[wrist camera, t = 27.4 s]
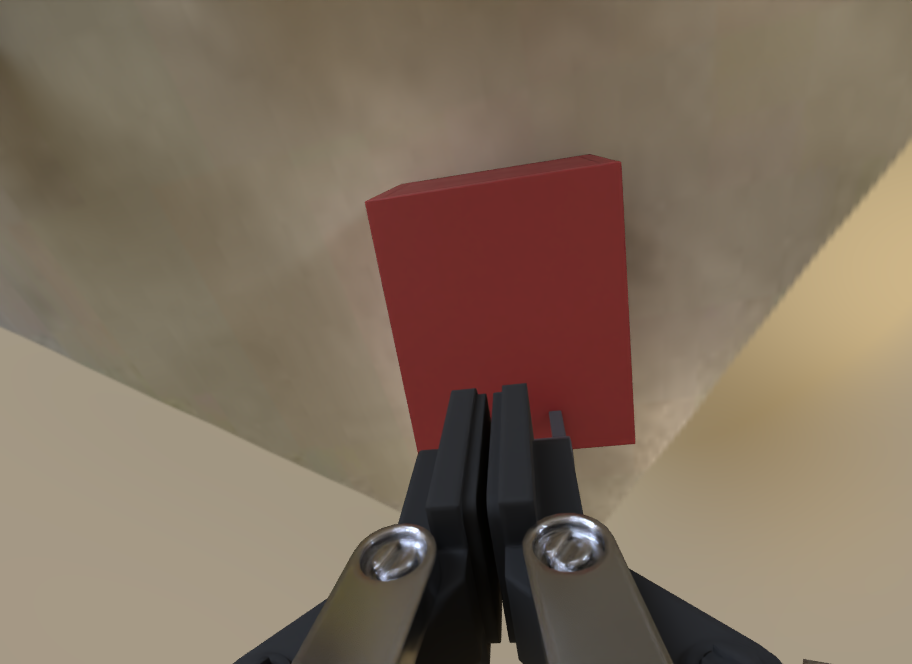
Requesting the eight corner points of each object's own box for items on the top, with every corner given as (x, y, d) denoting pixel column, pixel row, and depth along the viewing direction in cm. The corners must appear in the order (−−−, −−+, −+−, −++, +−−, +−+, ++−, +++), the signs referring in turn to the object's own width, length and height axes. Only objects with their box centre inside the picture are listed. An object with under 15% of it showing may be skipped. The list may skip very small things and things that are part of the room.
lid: (632, 436, 31) (657, 498, 26) (421, 454, 33) (405, 516, 28) (618, 160, 26) (646, 168, 21) (368, 199, 28) (336, 215, 22)
